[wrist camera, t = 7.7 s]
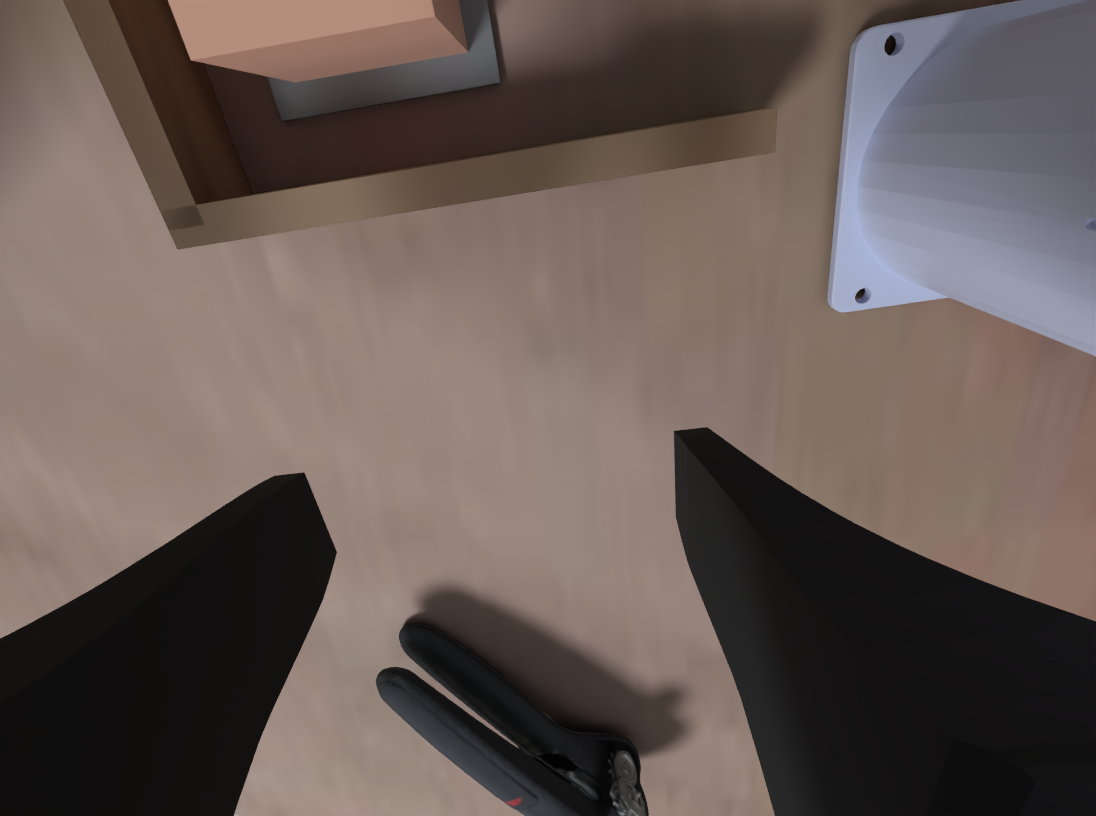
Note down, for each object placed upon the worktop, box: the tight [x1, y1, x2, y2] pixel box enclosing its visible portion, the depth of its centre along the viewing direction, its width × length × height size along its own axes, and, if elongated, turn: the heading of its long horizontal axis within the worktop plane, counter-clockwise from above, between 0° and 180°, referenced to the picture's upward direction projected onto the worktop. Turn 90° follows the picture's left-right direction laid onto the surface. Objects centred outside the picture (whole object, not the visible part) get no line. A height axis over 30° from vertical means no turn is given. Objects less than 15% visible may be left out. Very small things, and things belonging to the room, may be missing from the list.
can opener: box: [376, 623, 649, 816], centre depth 26 cm, size 18×7×6 cm, turn 40°
